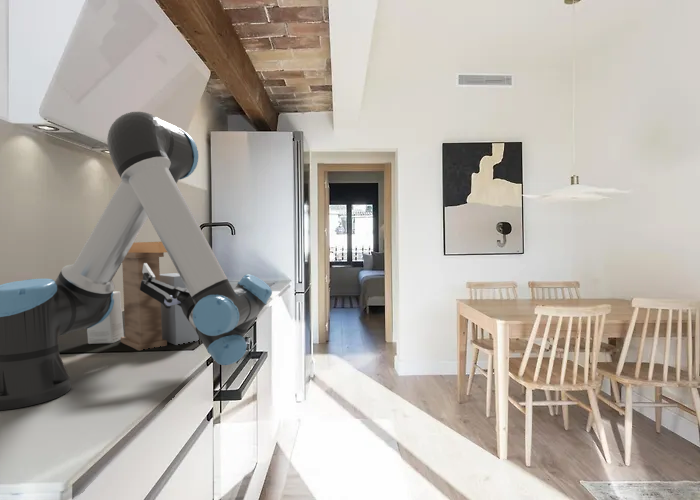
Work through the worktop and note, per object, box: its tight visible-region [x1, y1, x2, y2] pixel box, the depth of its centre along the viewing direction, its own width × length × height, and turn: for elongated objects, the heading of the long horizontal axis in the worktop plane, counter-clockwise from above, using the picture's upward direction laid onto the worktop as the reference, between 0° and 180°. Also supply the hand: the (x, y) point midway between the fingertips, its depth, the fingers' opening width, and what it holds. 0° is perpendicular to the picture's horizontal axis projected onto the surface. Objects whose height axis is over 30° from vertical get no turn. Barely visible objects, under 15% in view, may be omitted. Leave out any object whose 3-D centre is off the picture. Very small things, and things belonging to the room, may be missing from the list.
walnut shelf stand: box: [120, 252, 168, 351], centre depth 133 cm, size 8×16×28 cm, turn 44°
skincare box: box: [86, 290, 125, 345], centre depth 137 cm, size 8×7×16 cm
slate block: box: [160, 272, 200, 346], centre depth 138 cm, size 7×16×20 cm, turn 44°
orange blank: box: [128, 241, 167, 253], centre depth 129 cm, size 4×26×3 cm, turn 47°
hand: (171, 265), depth 116 cm, fingers open, 13 cm apart
